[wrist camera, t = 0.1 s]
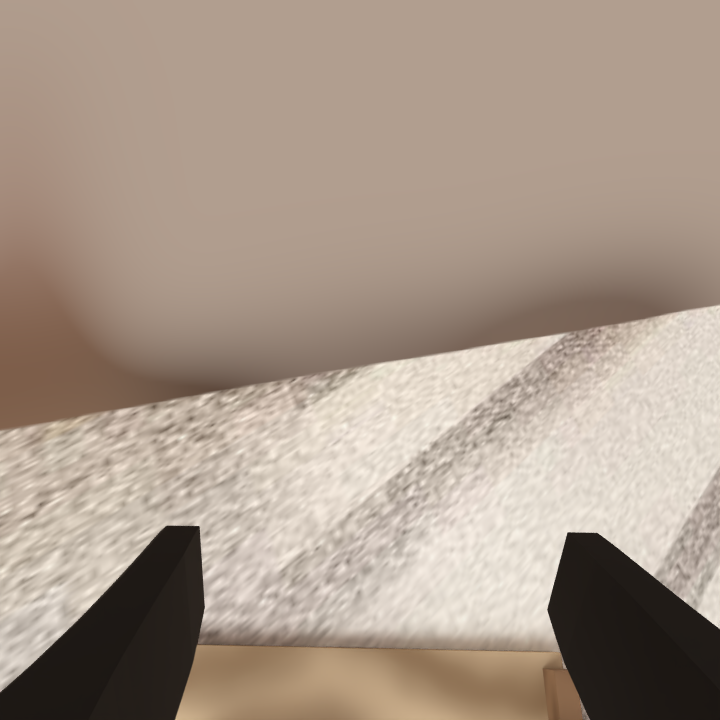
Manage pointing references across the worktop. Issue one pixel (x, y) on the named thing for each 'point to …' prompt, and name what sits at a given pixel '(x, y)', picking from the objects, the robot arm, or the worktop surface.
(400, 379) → the worktop surface
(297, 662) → the board
